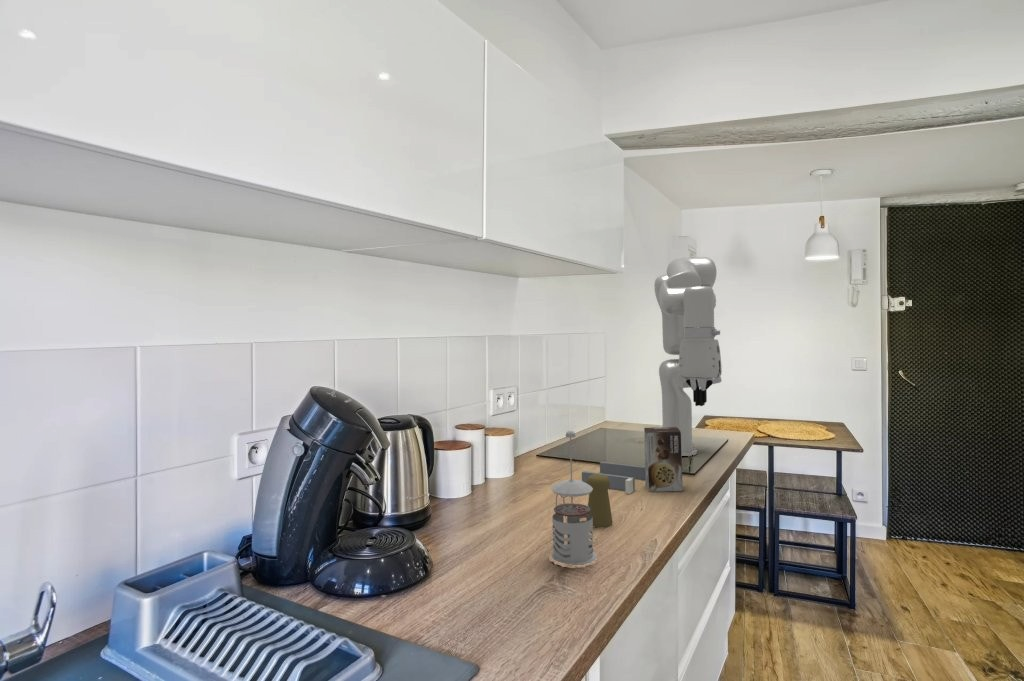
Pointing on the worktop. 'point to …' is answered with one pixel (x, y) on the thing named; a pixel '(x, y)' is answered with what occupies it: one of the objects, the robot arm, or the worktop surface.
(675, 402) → the robot arm
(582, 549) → the french press
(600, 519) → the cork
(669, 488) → the coffee box
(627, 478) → the pair of grey bars
